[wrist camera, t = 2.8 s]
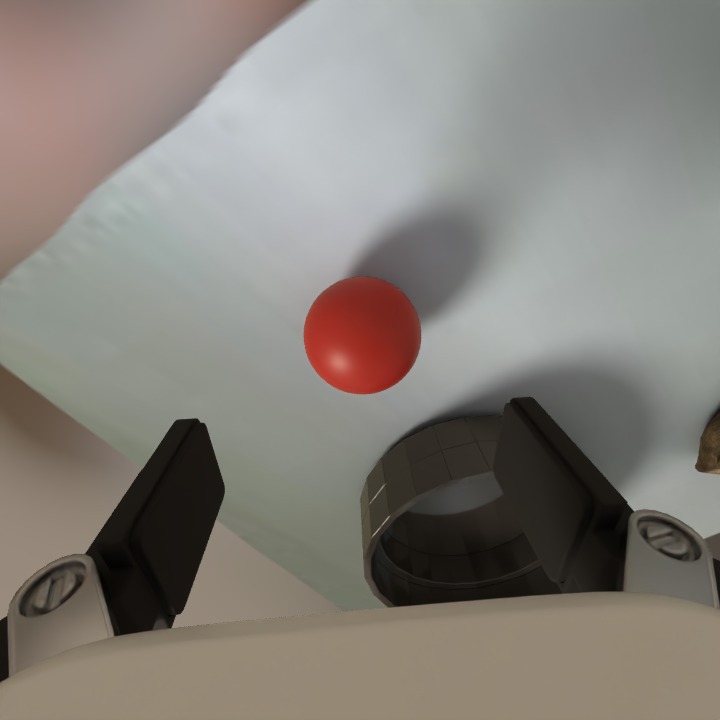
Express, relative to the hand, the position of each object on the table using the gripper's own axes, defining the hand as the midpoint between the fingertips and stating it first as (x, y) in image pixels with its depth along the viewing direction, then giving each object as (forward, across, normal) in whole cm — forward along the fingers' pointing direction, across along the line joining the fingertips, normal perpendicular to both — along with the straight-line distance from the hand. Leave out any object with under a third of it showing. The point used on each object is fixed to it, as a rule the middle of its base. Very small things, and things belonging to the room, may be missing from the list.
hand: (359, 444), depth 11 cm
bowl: (+11, -9, +16) cm, 21 cm away
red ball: (+8, -1, 0) cm, 8 cm away
